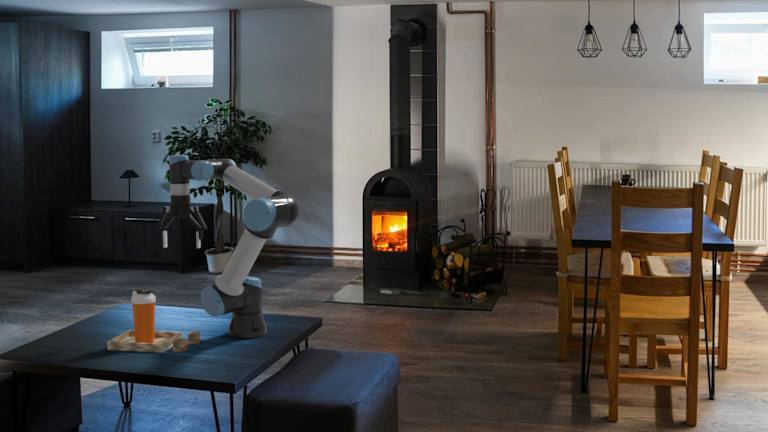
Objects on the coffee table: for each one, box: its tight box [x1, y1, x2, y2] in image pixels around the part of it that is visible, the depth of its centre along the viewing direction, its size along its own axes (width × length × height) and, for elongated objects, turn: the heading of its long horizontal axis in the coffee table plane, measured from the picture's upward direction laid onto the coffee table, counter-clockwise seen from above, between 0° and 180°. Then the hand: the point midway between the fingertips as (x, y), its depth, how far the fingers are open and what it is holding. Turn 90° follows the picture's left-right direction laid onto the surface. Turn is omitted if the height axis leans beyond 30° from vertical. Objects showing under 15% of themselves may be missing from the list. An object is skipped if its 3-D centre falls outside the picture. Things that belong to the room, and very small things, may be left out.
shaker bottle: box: [130, 288, 157, 343], centre depth 320 cm, size 9×9×20 cm
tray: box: [106, 329, 183, 353], centre depth 321 cm, size 22×18×3 cm
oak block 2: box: [187, 330, 201, 345], centre depth 324 cm, size 4×4×4 cm
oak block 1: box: [172, 337, 189, 353], centre depth 314 cm, size 4×4×4 cm
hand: (182, 247), depth 335 cm, fingers open, 13 cm apart
